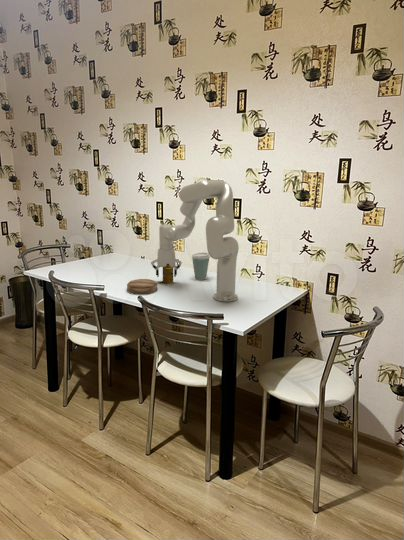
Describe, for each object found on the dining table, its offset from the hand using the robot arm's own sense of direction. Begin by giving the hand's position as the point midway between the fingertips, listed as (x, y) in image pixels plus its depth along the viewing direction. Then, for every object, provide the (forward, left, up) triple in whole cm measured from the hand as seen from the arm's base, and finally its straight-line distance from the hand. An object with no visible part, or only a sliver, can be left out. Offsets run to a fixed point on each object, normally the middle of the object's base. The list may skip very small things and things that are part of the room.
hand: (166, 276), depth 243 cm
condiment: (0, 0, -4) cm, 4 cm away
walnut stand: (-13, +13, -4) cm, 19 cm away
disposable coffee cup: (+8, -20, -4) cm, 22 cm away
